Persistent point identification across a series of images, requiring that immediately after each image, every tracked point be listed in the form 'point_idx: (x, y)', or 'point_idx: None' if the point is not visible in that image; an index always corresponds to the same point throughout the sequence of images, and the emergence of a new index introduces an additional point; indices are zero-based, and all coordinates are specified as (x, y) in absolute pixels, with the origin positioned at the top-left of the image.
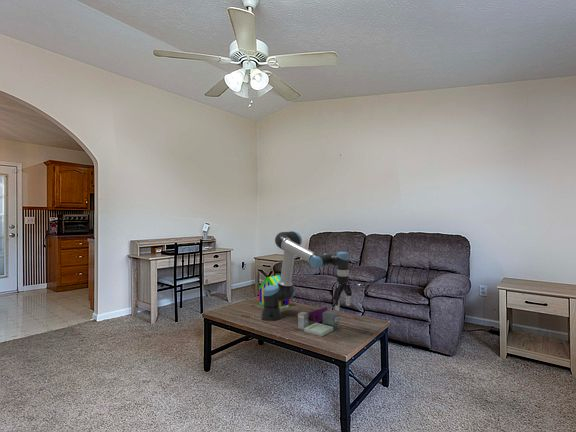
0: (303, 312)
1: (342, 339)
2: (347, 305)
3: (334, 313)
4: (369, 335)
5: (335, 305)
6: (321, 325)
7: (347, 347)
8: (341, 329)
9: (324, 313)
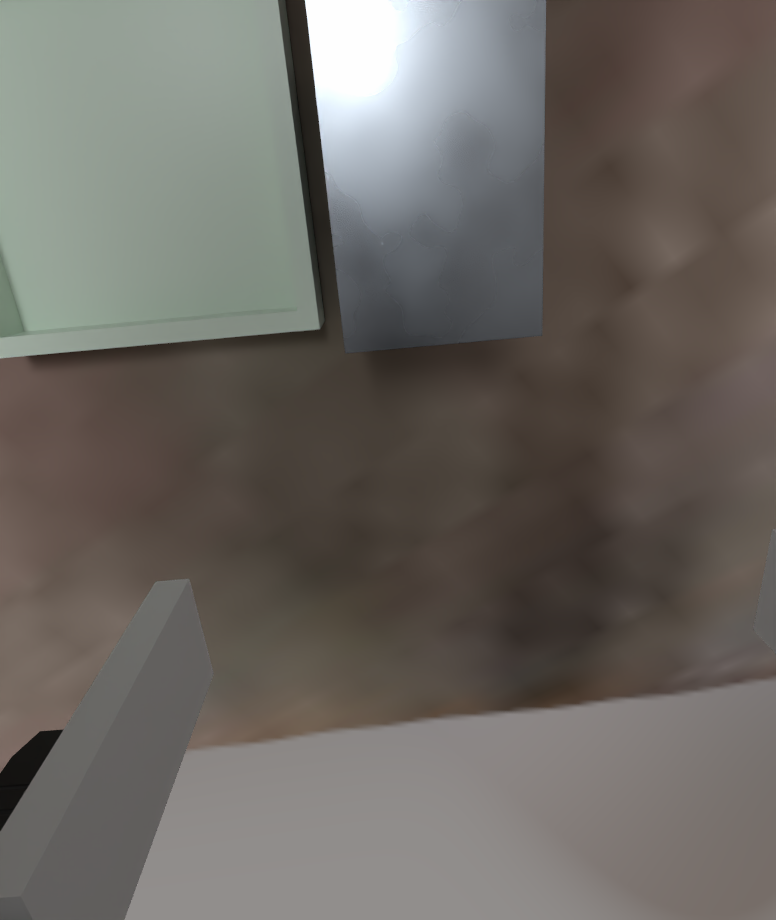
0: None
1: (175, 578)
2: (764, 581)
3: (446, 295)
4: (489, 700)
5: (102, 683)
6: (267, 83)
7: (57, 714)
8: (449, 376)
9: (311, 41)
